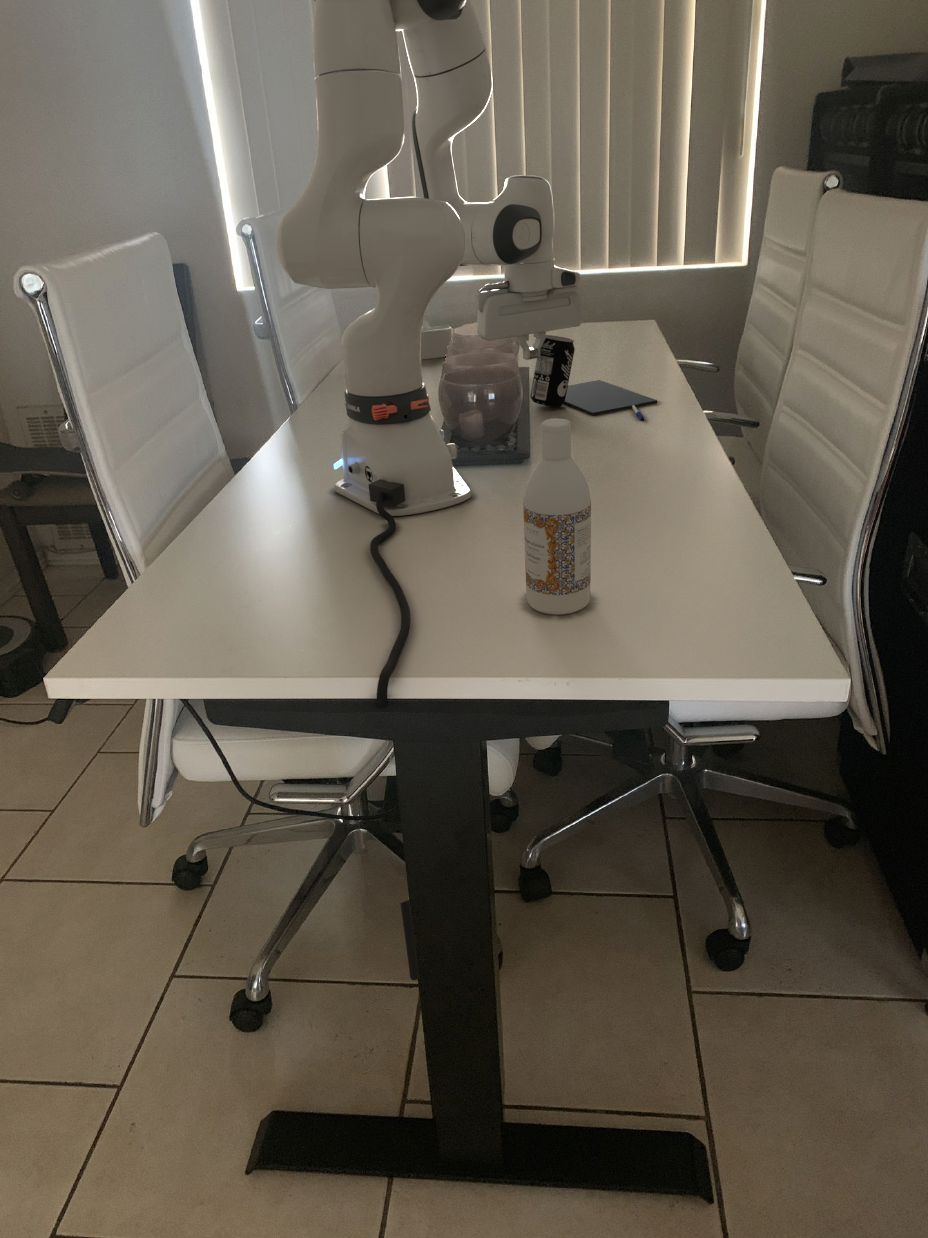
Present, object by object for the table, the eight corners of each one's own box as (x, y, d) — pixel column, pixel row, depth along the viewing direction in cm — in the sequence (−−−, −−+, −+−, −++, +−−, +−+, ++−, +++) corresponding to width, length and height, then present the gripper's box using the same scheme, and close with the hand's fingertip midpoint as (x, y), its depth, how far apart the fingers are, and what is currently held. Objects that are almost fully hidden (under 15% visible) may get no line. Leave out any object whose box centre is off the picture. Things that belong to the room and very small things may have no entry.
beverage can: (563, 403, 169) (576, 338, 165) (563, 408, 163) (576, 341, 159) (529, 397, 169) (541, 333, 165) (528, 403, 163) (540, 335, 159)
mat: (657, 402, 165) (657, 400, 164) (592, 415, 160) (592, 412, 160) (599, 382, 181) (599, 379, 181) (539, 393, 176) (539, 390, 176)
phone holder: (456, 355, 212) (451, 275, 203) (415, 360, 210) (408, 280, 201) (439, 342, 227) (433, 267, 218) (400, 347, 225) (393, 271, 216)
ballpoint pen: (645, 421, 155) (646, 415, 155) (640, 421, 155) (641, 416, 155) (632, 406, 165) (633, 400, 164) (628, 406, 164) (628, 400, 164)
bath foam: (513, 600, 98) (506, 422, 88) (562, 581, 101) (560, 408, 92) (554, 623, 93) (550, 436, 83) (603, 603, 96) (606, 421, 86)
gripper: (484, 287, 149) (488, 370, 155) (588, 272, 156) (588, 352, 162) (468, 283, 154) (473, 363, 160) (569, 269, 161) (570, 347, 168)
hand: (531, 358), depth 162 cm, fingers closed
